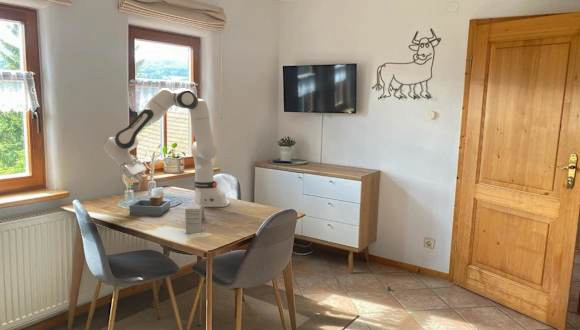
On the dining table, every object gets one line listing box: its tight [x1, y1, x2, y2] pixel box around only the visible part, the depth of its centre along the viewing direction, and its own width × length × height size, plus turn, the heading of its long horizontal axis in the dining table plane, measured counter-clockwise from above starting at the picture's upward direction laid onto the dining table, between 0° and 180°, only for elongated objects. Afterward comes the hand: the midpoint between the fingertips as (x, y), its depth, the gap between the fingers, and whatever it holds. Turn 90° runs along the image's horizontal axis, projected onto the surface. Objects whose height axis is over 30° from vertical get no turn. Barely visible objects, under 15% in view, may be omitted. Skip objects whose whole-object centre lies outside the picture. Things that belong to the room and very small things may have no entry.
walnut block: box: [149, 195, 163, 207], centre depth 250 cm, size 5×5×8 cm
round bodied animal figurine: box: [195, 204, 206, 220], centre depth 237 cm, size 7×12×8 cm, turn 138°
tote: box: [129, 199, 171, 217], centre depth 251 cm, size 18×14×5 cm
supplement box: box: [184, 204, 203, 234], centre depth 218 cm, size 7×7×13 cm
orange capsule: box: [138, 174, 149, 191], centre depth 249 cm, size 5×5×8 cm
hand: (144, 180), depth 249 cm, fingers closed on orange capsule, 5 cm apart
